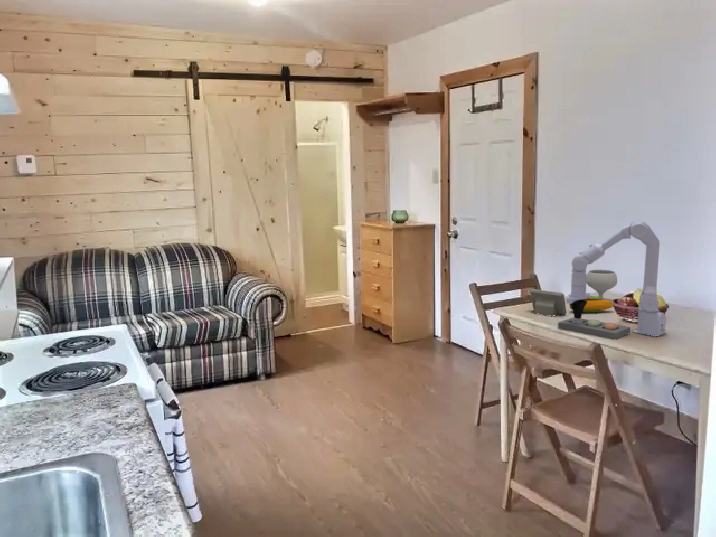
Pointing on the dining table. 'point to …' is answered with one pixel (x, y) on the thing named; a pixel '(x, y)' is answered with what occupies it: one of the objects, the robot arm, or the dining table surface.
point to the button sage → (593, 323)
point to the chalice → (601, 281)
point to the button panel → (593, 329)
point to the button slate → (577, 321)
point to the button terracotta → (610, 326)
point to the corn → (596, 305)
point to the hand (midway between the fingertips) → (577, 318)
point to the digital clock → (548, 302)
